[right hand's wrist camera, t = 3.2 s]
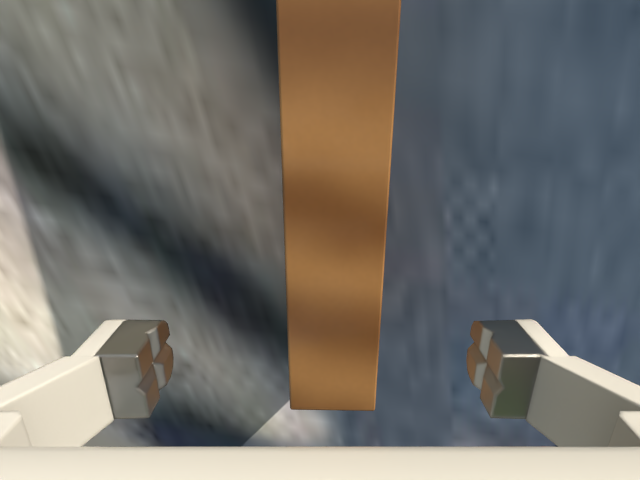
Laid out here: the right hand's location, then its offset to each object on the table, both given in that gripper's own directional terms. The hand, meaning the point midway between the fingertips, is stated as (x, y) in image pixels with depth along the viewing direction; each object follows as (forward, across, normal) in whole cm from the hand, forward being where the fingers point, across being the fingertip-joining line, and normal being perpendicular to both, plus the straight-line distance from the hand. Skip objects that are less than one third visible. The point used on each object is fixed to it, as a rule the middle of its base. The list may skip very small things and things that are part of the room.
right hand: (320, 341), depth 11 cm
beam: (+12, -1, -19) cm, 23 cm away
